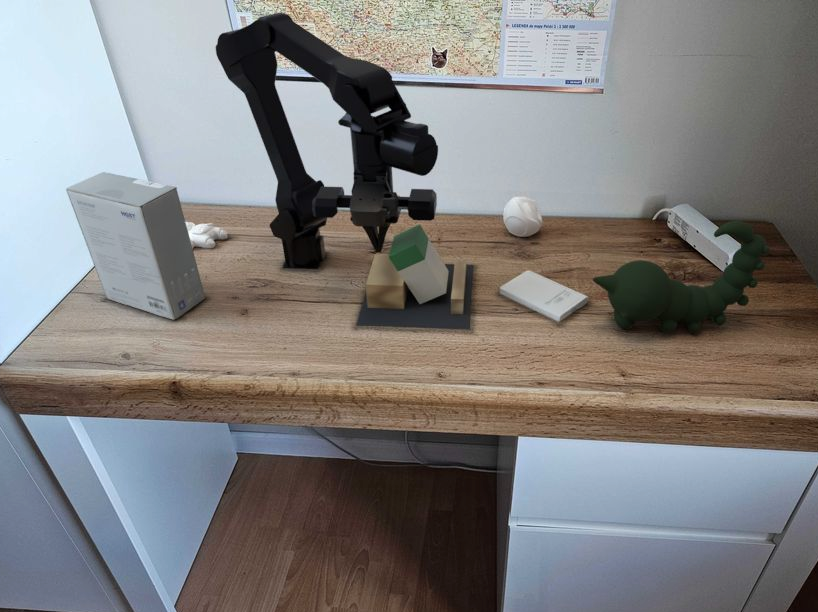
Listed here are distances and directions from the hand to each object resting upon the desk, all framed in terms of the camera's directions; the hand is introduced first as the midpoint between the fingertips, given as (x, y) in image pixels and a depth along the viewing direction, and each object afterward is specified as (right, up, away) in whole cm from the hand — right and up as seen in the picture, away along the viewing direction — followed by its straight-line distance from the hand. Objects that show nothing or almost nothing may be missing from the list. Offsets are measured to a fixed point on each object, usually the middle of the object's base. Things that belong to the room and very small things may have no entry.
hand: (378, 251), depth 109 cm
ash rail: (+13, -7, +4) cm, 15 cm away
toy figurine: (+46, -12, -2) cm, 47 cm away
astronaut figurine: (-38, +5, +20) cm, 43 cm away
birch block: (+1, -6, +5) cm, 8 cm away
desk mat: (+6, -7, +5) cm, 10 cm away
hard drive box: (-38, -8, +4) cm, 39 cm away
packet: (+7, -6, +4) cm, 10 cm away
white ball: (+26, +6, +22) cm, 35 cm away
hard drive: (+27, -8, +4) cm, 29 cm away
